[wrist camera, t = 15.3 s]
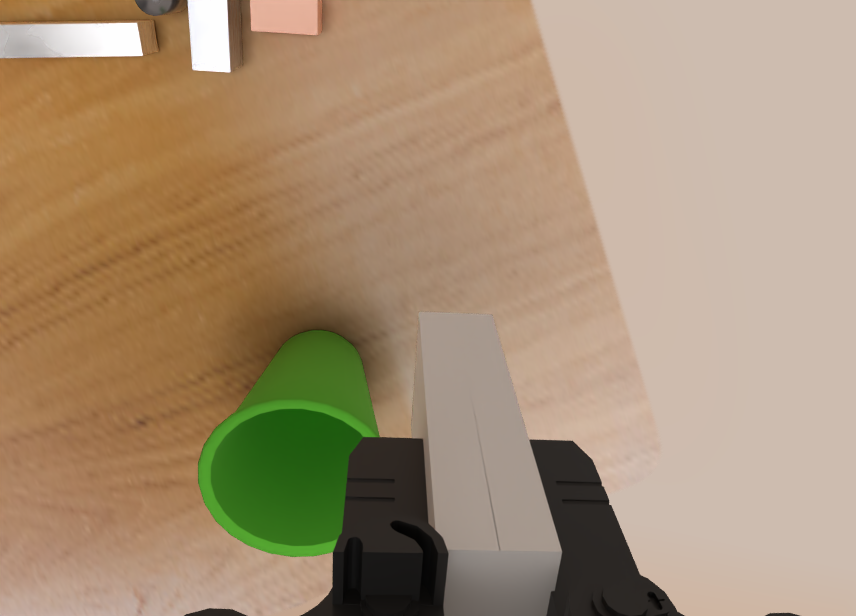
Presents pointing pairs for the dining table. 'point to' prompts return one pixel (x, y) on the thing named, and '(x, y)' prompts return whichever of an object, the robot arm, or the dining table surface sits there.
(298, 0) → the tab
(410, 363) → the dining table surface
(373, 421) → the cup
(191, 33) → the tongs base
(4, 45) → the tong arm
